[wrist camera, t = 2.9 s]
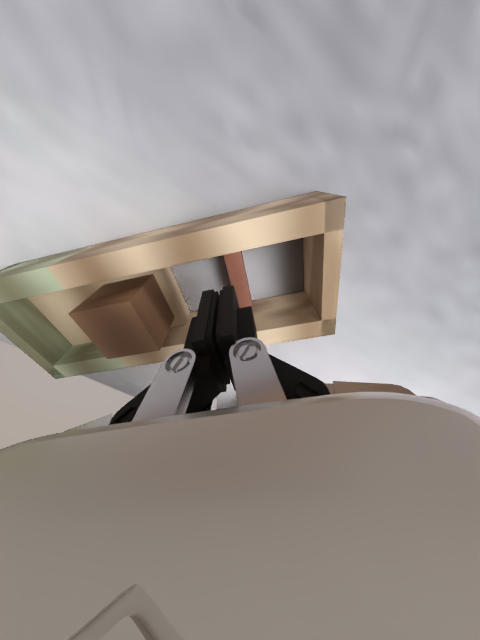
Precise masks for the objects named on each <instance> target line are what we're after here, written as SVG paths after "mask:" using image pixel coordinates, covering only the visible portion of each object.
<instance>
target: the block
mask: <svg viewBox="0 0 480 640" xmlns="http://www.w3.org/2000/svg"><path fill="white" fill-rule="evenodd" d="M68 314H69V315H70V317H71V318H72V319H73V320H74V321H75V322H76V324H77V325H78V326H79V327H80V328H81V329H82V331H83V332H84V333H85V334H86V335H87V336H88V337H89V339H90V340H91V341H92V342H93V343H94V344H95V346H96V347H97V348H98V349H99V350H100V351H101V353H102V354H103V355H104V356H105V357H106V358H107V359H112V358H118V357H124V356H130V355H136V354H142V353H148V352H154V351H160V349H161V347H162V344H163V342H164V340H165V338H166V336H167V333H168V331H169V329H170V327H171V324H172V322H173V320H174V318H175V317H174V315H173V313H172V311H171V309H170V307H169V305H168V303H167V301H166V299H165V297H164V295H163V293H162V291H161V289H160V287H159V285H158V282H157V280H156V278H155V276H154V274H150V275H145V276H141V277H136V278H131V279H127V280H122V281H118V282H113V283H108V284H104V285H103V286H102V287H100V288H99V289H98V290H97V291H96V292H94V293H93V294H92V295H91V296H89V297H88V298H87V299H86V300H84V301H83V302H82V303H81V304H79V305H78V306H77V307H76V308H75V309H73V310H72V311H71V312H70V313H68Z"/></svg>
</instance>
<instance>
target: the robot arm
mask: <svg viewBox="0 0 480 640" xmlns="http://www.w3.org/2000/svg"><path fill="white" fill-rule="evenodd" d="M230 379H231V382H232V384H233V387H234V390H235V391H236V394H237V400H238V405H239V407H231V408H224V409H217V410H216V407H217V396H218V395H219V394H220V393H221V392H225V391H226V384H230ZM0 640H480V417H478V416H476V415H475V414H473V413H471V412H469V411H467V410H464V409H462V408H460V407H457V406H454V405H451V404H448V403H445V402H442V401H439V400H435V399H430V398H425V397H420V396H417V395H415V394H414V393H413V392H411V391H410V390H408V389H406V388H404V387H402V386H399V385H393V384H380V383H361V382H341V381H333V384H326V383H323V382H322V381H320V380H319V379H317V378H315V377H313V376H311V375H309V374H307V373H305V372H304V371H302V370H300V369H298V368H296V367H294V366H292V365H290V364H288V363H286V362H284V361H282V360H280V359H278V358H276V357H274V356H272V355H270V354H268V352H267V350H266V348H265V345H264V344H263V342H262V341H261V340H259V339H258V338H257V331H256V325H255V320H254V315H253V310H252V306H248V307H243V308H239V304H238V300H237V296H236V292H235V288H234V285H232V286H227V287H223V290H221V291H220V295H219V294H218V292H217V291H216V292H214V290H208V291H203V292H202V296H201V300H200V304H199V308H198V313H197V316H196V317H193V318H192V319H191V323H190V326H189V330H188V334H187V337H186V341H185V344H184V348H183V349H180V350H177V351H175V352H173V353H171V354H170V355H169V356H168V357H167V358H166V359H165V360H164V361H163V363H162V365H161V367H160V369H159V371H158V373H157V374H156V376H155V378H154V380H153V382H152V384H151V385H150V386H148V387H147V388H146V389H145V390H143V391H142V392H141V393H140V394H138V395H137V396H136V397H135V398H133V399H132V400H131V401H130V402H128V403H127V404H126V405H125V406H123V407H122V408H121V409H120V410H119V411H118V412H117V413H116V414H115V415H113V414H110V415H107V416H105V417H102V418H99V419H96V420H94V421H91V422H88V423H86V424H83V425H80V426H78V427H75V428H72V429H69V430H67V431H65V432H62V433H56V434H52V435H47V436H43V437H38V438H34V439H30V440H27V441H24V442H20V443H17V444H14V445H11V446H9V447H6V448H3V449H0Z"/></svg>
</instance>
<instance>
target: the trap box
mask: <svg viewBox="0 0 480 640" xmlns="http://www.w3.org/2000/svg"><path fill="white" fill-rule="evenodd" d="M345 207H346V197H345V196H340V195H335V194H330V193H324V192H319V191H315V192H311V193H307V194H303V195H299V196H295V197H291V198H286V199H282V200H278V201H274V202H270V203H266V204H262V205H257V206H253V207H249V208H245V209H241V210H237V211H233V212H229V213H224V214H220V215H216V216H212V217H208V218H204V219H200V220H195V221H191V222H187V223H183V224H179V225H175V226H171V227H167V228H162V229H158V230H154V231H150V232H146V233H142V234H138V235H133V236H129V237H125V238H121V239H117V240H113V241H109V242H105V243H100V244H96V245H92V246H88V247H84V248H80V249H76V250H71V251H67V252H63V253H59V254H55V255H51V256H47V257H42V258H38V259H34V260H30V261H26V262H22V263H18V264H14V265H12V266H9V267H7V268H4V269H2V270H0V332H1V333H2V334H3V335H5V336H6V337H7V338H8V339H9V340H11V341H12V342H13V343H14V344H15V345H16V346H18V347H19V348H20V349H21V350H22V351H23V352H25V353H26V354H27V355H28V356H29V357H31V358H32V359H33V360H34V361H35V362H36V363H38V364H39V365H40V366H41V367H43V368H44V369H45V370H46V371H47V372H48V373H49V374H51V375H52V376H53V377H54V378H56V379H57V378H64V377H70V376H76V375H83V374H89V373H95V372H101V371H108V370H114V369H120V368H126V367H133V366H139V365H145V364H151V363H158V362H163V361H164V360H165V359H166V358H167V357H168V356H169V355H170V354H171V353H173V352H175V351H177V350H180V349H183V348H184V344H185V341H186V337H187V334H188V330H189V326H190V323H191V319H192V318H193V317H196V316H197V313H198V311H196V312H190V311H189V309H188V307H187V304H186V302H185V300H184V297H183V295H182V293H181V290H180V288H179V286H178V283H177V281H176V279H175V277H174V274H173V272H172V270H171V267H170V266H175V265H179V264H184V263H189V262H193V261H198V260H202V259H207V258H212V257H216V256H221V255H223V256H224V259H225V263H226V267H227V271H228V275H229V279H230V282H231V286H232V285H234V288H235V292H236V296H237V300H238V304H239V308H243V307H248V306H252V310H253V315H254V320H255V325H256V331H257V338H258V339H259V340H261V341H262V342H263V344H264V345H270V344H276V343H283V342H289V341H295V340H301V339H308V338H314V337H320V336H326V335H333V334H335V325H336V313H337V301H338V289H339V278H340V266H341V254H342V242H343V230H344V218H345ZM299 238H303V252H304V290H305V291H303V292H297V293H292V294H287V295H281V296H276V297H271V298H265V299H260V300H255V301H252V300H251V295H250V290H249V285H248V280H247V275H246V271H245V266H244V261H243V256H242V251H244V250H248V249H253V248H258V247H262V246H267V245H271V244H276V243H281V242H285V241H290V240H294V239H299ZM150 274H154V276H155V278H156V280H157V282H158V285H159V287H160V289H161V291H162V293H163V295H164V297H165V299H166V301H167V303H168V305H169V307H170V309H171V311H172V313H173V315H174V317H175V318H174V320H173V322H172V324H171V327H170V329H169V331H168V333H167V336H166V338H165V340H164V342H163V344H162V347H161V349H160V351H154V352H148V353H142V354H136V355H130V356H124V357H118V358H112V359H107V358H106V357H105V356H104V355H103V354H102V353H101V351H100V350H99V349H98V348H97V347H96V346H95V344H94V343H93V342H92V341H91V340H90V339H89V337H88V336H87V335H86V334H85V333H84V332H83V331H82V329H81V328H80V327H79V326H78V325H77V324H76V322H75V321H74V320H73V319H72V318H71V317H70V315H69V314H68V313H70V312H71V311H72V310H73V309H75V308H76V307H77V306H78V305H79V304H81V303H82V302H83V301H84V300H86V299H87V298H88V297H89V296H91V295H92V294H93V293H94V292H96V291H97V290H98V289H99V288H100V287H102V286H103V285H104V284H108V283H113V282H118V281H122V280H127V279H131V278H136V277H141V276H145V275H150Z"/></svg>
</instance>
